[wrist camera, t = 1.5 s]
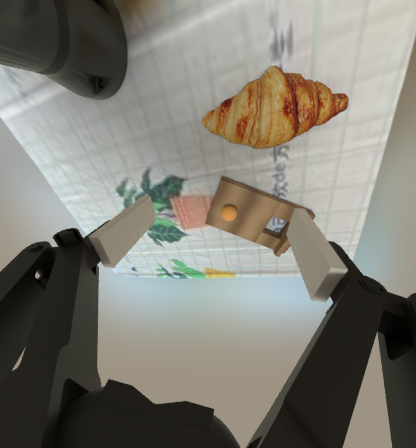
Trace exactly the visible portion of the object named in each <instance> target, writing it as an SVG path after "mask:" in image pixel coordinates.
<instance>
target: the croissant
mask: <svg viewBox="0 0 416 448" xmlns="http://www.w3.org/2000/svg"><path fill="white" fill-rule="evenodd" d="M348 100H349V98H348V97H347V95H346V94H332V92H331V90H330V88H328V87H326V85H324V84H322V83H320V82H318V81H316V82H313V81H312V80H305V79H304V78H303V77H302V75H301V74H295V73H283V71H282V70H281V69H279V68H278V67H277V66H271V67H269V68H268V69H267V70H266V71H265V73H264V74H263V75H262V77H261V79H257V80H254V81H252V82H249V83H248V84H247V85H246V86H245V87H244V88H243V90H242V91H241V92H240V93H239V94H237V95H236V96H234V97H232V98H230V99H227V100H225V101H224V102H222V103H221V105H220V106H219V107H217V108H216V110H212V111H210V112H207V114H206V116H205V117H204V118H203V119H202V123H203V125H204V126H205V127H206V128H208V130H209V131H211V132H212V133H215V134H216V135H220V136H221V137H223V138H226V139H227V140H228V141H229V142H232V143H237V144H239V143H240V144H247V145H249V146H250V147H253V148H255V149H259V148H260V149H264V148H270V147H274V146H279V145H281V144H283V143H286V142H289V141H290V140H291V139H293V138H294V137H296V136H298V135H301V134H302V133H304V132H306V131H308V130H309V129H310V128H312V127H313V126H319V125H322V124H325V123H326V122H327V121H329V120H330V119H331V118H332V117H334V116H336V115H337V114H338V113H340V112H342V111H344V110H346V108H347V107H348Z"/></svg>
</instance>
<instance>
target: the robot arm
mask: <svg viewBox="0 0 416 448" xmlns="http://www.w3.org/2000/svg"><path fill="white" fill-rule="evenodd" d="M0 64H2V65H6V66H11V67H15V68H19V69H23V70H27V71H32V72H36V73H40V74H44V75H45V76H47V77H49V78H50V79H52V80H54V81H55V82H57V83H59V84H60V85H62V86H64V87H65V88H67V89H69V90H70V91H72V92H74V93H76V94H78V95H80V96H83V97H88V98H93V99H105V98H108V97H110V96H112V95H113V94H114V93H115V92H116V91H117V90H118V89H119V87H120V86H121V84H122V82H123V79H124V76H125V72H126V65H127V47H126V39H125V34H124V29H123V26H122V22H121V19H120V16H119V14H118V11H117V9H116V6H115V4H114V2H113V0H0ZM155 221H156V220H155V216H154V211H153V206H152V201H151V197H148V196H143V197H141V198H140V199H139V200H137V201H136V202H135V203H133V204H132V205H131V206H129V207H128V208H126V209H125V210H124V211H122V212H121V213H120V214H118V215H117V216H116V217H114V218H113V219H111V220H109V221H107V222H105V223H104V224H102V225H101V226H100V227H98V228H97V229H95V230H94V231H93V232H91V233H90V234H89V235H87V236H86V237H84V238H83V237H82V235H81V234H80V232H79V230H78V229H76V228H70V229H66V230H62V231H60V232H58V233H56V234H55V235H54V236H53V239H54V240H55V242H56V243H57V245H58V246H59V247H52V246H51V245H50V243H49V242H46V241H44V242H37V243H35V244H31V245H30V246H28V247H26V248H25V249H24V250H22V252H20V253H19V254H18V255H17V256H16V257H15V258H14V259H13V260H12V261H11V262H10V263H9V264H8V265H7V266H6V267H5V268H4V269H3V270H2V271H1V272H0V448H240V446H239V444H238V442H237V441H236V439H235V437H234V436H233V434H232V433H231V432H230V430H229V429H228V428H227V426H226V425H225V424H224V423H223V422H222V421H221V420H220V419H218V418H217V417H216V416H214V415H213V413H214V409H212V408H209V407H204V406H201V405H198V404H195V403H191V402H188V401H183V402H173V403H164V404H154V403H152V402H151V401H150V400H149V399H148V398H146V397H145V396H144V395H143V394H142V393H140V392H139V391H138V390H137V389H136V388H134V387H133V386H131V385H128V384H124V383H121V382H117V381H114V380H110V379H109V380H108V382H107V383H106V385H105V386H104V387H101V382H100V377H99V374H98V371H97V342H98V337H97V336H98V283H99V280H98V279H99V267H98V265H97V264H98V263H99V262H100V261H101V262H102V264H103V266H104V267H108V268H114V267H115V266H116V265H117V264H118V262H119V261H120V260H121V259H122V258H123V257H124V256H125V255H126V253H127V252H128V251H129V250H130V249H131V248H132V247H133V246H134V245H135V243H136V242H137V241H138V240H139V239H140V238H141V237H142V236H143V234H144V233H145V232H146V231H147V230H148V229H149V228H150V227H151V226H152V224H153V223H154V222H155ZM286 235H287V238H288V241H289V243H290V246H291V248H292V251H293V254H294V256H295V259H296V261H297V264H298V267H299V269H300V272H301V274H302V277H303V280H304V282H305V284H306V287H307V290H308V292H309V295H310V298H311V300H314V301H320V302H326V301H327V300H328V298H329V297H331V299H332V301H333V304H332V306H331V307H330V308H329V310H328V311H327V312H326V315H325V317H324V319H323V320H322V322H321V324H320V326H319V327H318V329H317V331H316V332H315V334H314V336H313V337H312V339H311V341H310V343H309V344H308V346H307V348H306V349H305V351H304V353H303V354H302V356H301V358H300V359H299V361H298V363H297V365H296V366H295V368H294V370H293V371H292V373H291V375H290V376H289V378H288V380H287V381H286V383H285V385H284V386H283V388H282V390H281V392H280V393H279V395H278V397H277V398H276V400H275V402H274V403H273V405H272V407H271V409H270V410H269V412H268V413H267V415H266V417H265V418H264V420H263V421H262V423H261V424H260V426H259V427H258V429H257V430H256V432H255V433H254V435H253V437H252V439H251V440H250V442H249V443H248V445H247V447H246V448H342V447H343V444H344V441H345V437H346V434H347V431H348V427H349V424H350V420H351V417H352V414H353V410H354V407H355V404H356V400H357V397H358V394H359V390H360V387H361V383H362V380H363V377H364V374H365V370H366V367H367V363H368V360H369V357H370V354H371V350H372V347H373V344H374V340H375V337H376V333H377V332H378V340H379V347H380V355H381V363H382V371H383V378H384V386H385V394H386V402H387V409H388V417H389V424H390V432H391V440H392V448H416V293H414V294H412V295H410V296H409V297H408V298H404V297H401V296H398V295H395V294H392V293H389V292H387V290H386V289H385V288H384V287H383V286H382V285H381V284H380V283H379V282H377V281H375V280H374V279H372V278H369V277H367V276H363V274H362V273H361V272H360V270H359V269H358V268H357V267H356V265H355V264H354V263H353V262H352V260H351V259H349V256H348V255H347V254H346V253H345V251H344V250H343V249H342V248H341V247H340V246H339V245H338V244H336V243H335V242H331V241H327V239H326V238H325V237H324V235H323V234H322V232H321V231H320V230H319V228H318V227H317V225H316V224H315V223H314V221H313V220H312V218H311V217H310V216H309V214H308V213H307V211H306V210H305V209H302V208H295V209H294V212H293V215H292V218H291V221H290V224H289V227H288V230H287V233H286ZM36 272H38V273H39V275H40V277H39V278H38V279H36V278H35V274H36ZM25 347H26V349H25ZM24 349H25V351H24V354H23V357H22V360H21V363H20V365H19V366H18V368H17V369H15V370H13V371H12V369H13V368H14V366H15V364H16V362H17V361H18V359H19V357H20V356H21V354H22V352H23V350H24Z"/></svg>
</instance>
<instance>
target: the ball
mask: <svg viewBox="0 0 416 448" xmlns="http://www.w3.org/2000/svg"><path fill="white" fill-rule="evenodd" d="M221 215H222V218H223V219H224V220H226V221H233V220H234V219H235V218H236V216H237V211H236V209H235V208H234V207H232V206H226V207H224V208H223V210H222V212H221Z"/></svg>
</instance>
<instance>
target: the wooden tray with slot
mask: <svg viewBox="0 0 416 448" xmlns="http://www.w3.org/2000/svg"><path fill="white" fill-rule="evenodd" d="M226 206H232V207H234V208H235V209H236V211H237V216H236V218H235V219H234V220H233V221H226V220H224V219H223V218H222V215H221V212H222V210H223V208H224V207H226ZM295 208H302V209H305V210H306V211H307V213H308V214H309V216H310V217H311V218H312V220H313V219H314V218H315V214H314V213H313V212H312V211H311V210H309V209H306V208H304V207H301V206H299V205H296V204H293V203H291V202H288V201H286V200H283V199H280V198H278V197H275V196H273V195H270V194H267V193H265V192H262V191H260V190H257V189H254V188H252V187H249V186H246V185H244V184H241V183H239V182H236V181H233V180H231V179H228V178H226V177H222V179H221V182H220V184H219V187H218V190H217V192H216V195H215V198H214V200H213V203H212V206H211V209H210V211H209V214H208V217H207V219H206V222H205V224H208V225H211V226H213V227H216V228H218V229H221V230H224V231H226V232H229V233H232V234H234V235H237V236H239V237H242V238H245V239H247V240H250V241H253V242H255V243H258V244H260V245H263V246H266V247H268V248H271V249H273V250H274V254H275V256H278V257H279V256H280V255H281V254H282V253H285V252H286V251H287V250H288V248H289V247H290V243H289V241H288V238H287V235H286V233H287V230H288V227H289V224H290V221H291V218H292V215H293V212H294V209H295ZM272 216H274V217H277V218H279V219H282V220H285V221H287V223H286V225H285V226H284V227H283V229H282V230H281V231H280V233H277V232H274V231H272V230H269V229H266V228H265V227H266V226H267V224H268V222H269V221H270V219H271V218H272Z"/></svg>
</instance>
